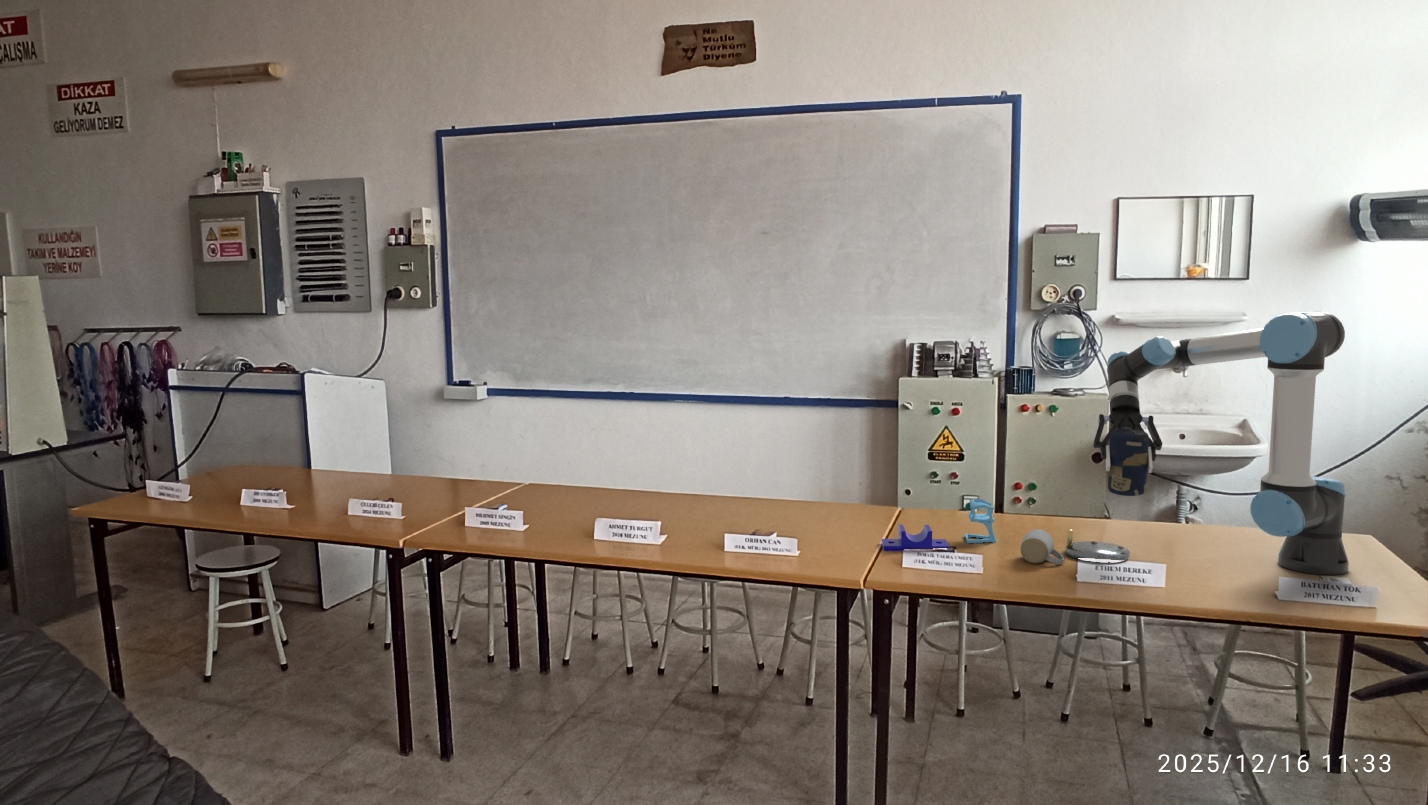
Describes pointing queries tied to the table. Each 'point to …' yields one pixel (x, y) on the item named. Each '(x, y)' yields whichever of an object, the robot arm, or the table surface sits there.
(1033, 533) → the ceramic mug
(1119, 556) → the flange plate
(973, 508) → the light blue stand
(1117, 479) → the canister
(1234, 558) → the table surface
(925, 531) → the mounting bracket
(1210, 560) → the table surface
